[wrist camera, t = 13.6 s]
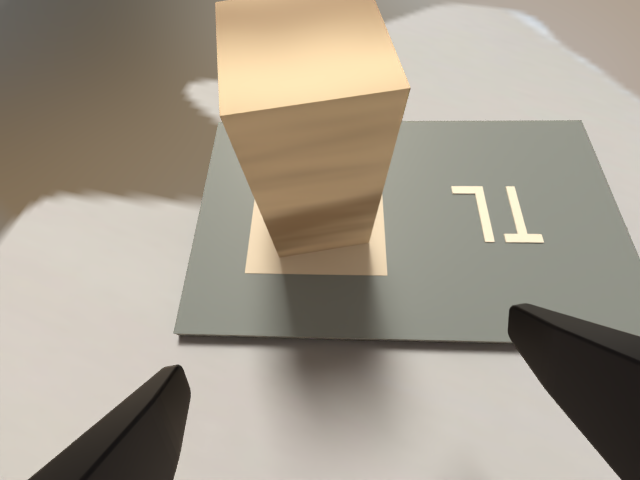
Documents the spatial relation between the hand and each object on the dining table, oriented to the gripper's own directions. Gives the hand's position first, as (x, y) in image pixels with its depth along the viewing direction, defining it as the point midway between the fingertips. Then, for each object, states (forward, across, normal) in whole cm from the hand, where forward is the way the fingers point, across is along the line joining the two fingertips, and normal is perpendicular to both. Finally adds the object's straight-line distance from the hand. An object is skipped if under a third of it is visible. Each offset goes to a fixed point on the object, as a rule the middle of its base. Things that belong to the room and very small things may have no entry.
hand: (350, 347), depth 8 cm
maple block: (+11, 0, -1) cm, 11 cm away
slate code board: (+10, -5, 0) cm, 12 cm away
